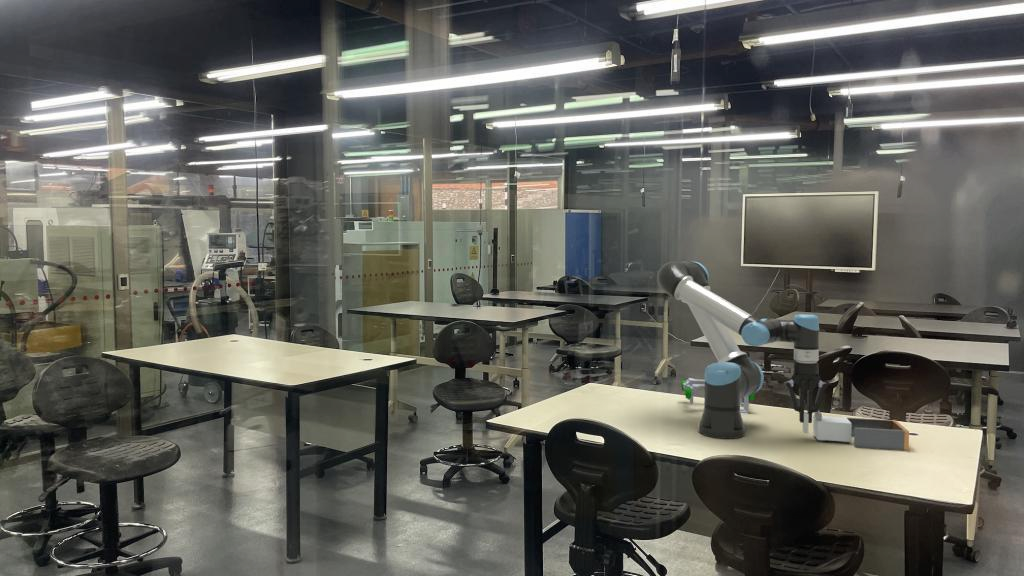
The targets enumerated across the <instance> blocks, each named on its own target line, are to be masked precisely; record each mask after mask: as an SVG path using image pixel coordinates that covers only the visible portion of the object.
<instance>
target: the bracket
mask: <svg viewBox="0 0 1024 576" xmlns="http://www.w3.org/2000/svg"><path fill="white" fill-rule="evenodd" d="M697 383H699V384H697ZM701 383H703V384H701ZM700 388H705V380H704V379H696V378H693V377H688V378H687V379H686V380H681V391H682V392H683V391H684V395H685V399H687V400H688V401H689V402H690V404H691V405H694V394H695V392H696V391H698V390H699V389H700ZM754 400H755V393H754V394H752V395H750V396H745V397H742V398H740V405H742V406H743V408H740V413H748V414H749V410H750V408H749V407H750V406H749V405H750V402H749V401H754Z"/></svg>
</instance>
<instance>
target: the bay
mask: <svg viewBox="0 0 1024 576" xmlns="http://www.w3.org/2000/svg"><path fill="white" fill-rule="evenodd" d="M846 418H847V419H848V420H849V421H850V422H851V423H852V427H851V437H853V447H854V448H861V447H862V449H863V447H864V449H876V448H880V449H879V450H894V451H907V452H908V451H909V450H910V449H909V447H910V446H909V445H910V431H909V430H908V429H907V428H905V426H903V425H902V424H901V423H900V422H898V421H897V420H896V419H883V418H882V419H880V418H879V419H878V418H865V417H864V418H863V417H862V418H861V417H846ZM866 447H867V448H866Z"/></svg>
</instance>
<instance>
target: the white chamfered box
mask: <svg viewBox="0 0 1024 576" xmlns="http://www.w3.org/2000/svg"><path fill="white" fill-rule="evenodd" d="M813 414H814V415H812V422H813V425H812V434H813V436H814V438H816V439H817V442H820V443H826V441H833V442H840V443H841V444H844V445H845V444H846V445H847V444H850V442H852V436H851V427H852V423H851V422H850V421H849V420H848V419H847V418H848V417H844V416H843V417H842V416H828V415H827V416H826V415H823V413H822V412H821V411H820V410H818V412H814V413H813Z"/></svg>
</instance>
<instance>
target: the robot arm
mask: <svg viewBox="0 0 1024 576" xmlns="http://www.w3.org/2000/svg"><path fill="white" fill-rule="evenodd" d="M656 277H657V285H658V286H659V288H660V289H661V290H662V292H664V293H665V294H667V295H669V297H672V298H674V299H675V300H677V301H680V302H682V303H684V304H687V306H688V307H689V309H690V311H691V313H692V315H693V317H694V319H695V320H696V323H697V325H698V326H699V328H700V330H701V332H702V334H703V336H704V338H705V339H706V341H707V343H708V345H709V348H710V349H711V351H712V352H713V354H714V357H715V358H716V359H717V362H713V363H711V364H709V365H707V366H706V368H705V369H704V377H703V378H704V379H703V380H705V387H704V401H703V402H704V404H703V405H704V408H703V409H704V410H703V412H702V415H701V418H700V420H699V424H698V432H699V433H700V434H701V433H702V434H701V435H703V434H704V436H706V437H711V438H715V439H716V438H717V439H740V438H742V437H744V436H745V435H746V426H745V423H744V420H743V418H742V414H741V413H740V409H741V406H740V398H742V399H743V397H745V396H750V395H752V394H754V395H755V394H756V393H758V392H759V390H760V389H761V388H762V387H763V384H764V380H765V378H764V377H765V375H764V372H763V370H762V367H761V366H760V365H759V364H758V363H756V362H754V361H752V360H751V359H750V357H749V355H748V353H747V352H744V351H742V350H741V349H740V348H739V346H738V345H737V343H736V340H735V339H734V337H733V335H732V333H731V331H733V332H734V333H736V334H738V335H740V336H741V338H742V340H743V342H744V343H745V344H747V345H748V346H751V347H759V346H760V347H761V346H764V345H767V344H773V343H776V342H780V343H793V360H794V362H793V375H792V377H791V379H790V380H786V381H785V382H784V383H785V385H786V387H787V388H788V393H789V396H790V399H791V403H792V407H793V410H794V411H795V412H798V414H799V422H800V423H802V432H803V434H806V435H807V434H809V424H812V422H813V414H814V412H818V410H819V409H820V406H821V403H822V399H823V395H824V392H825V390H826V389H827V387H828V384H827V382H825V381H822V380H821V378H820V375H819V359H820V358H819V352H820V351H819V349H820V347H819V346H820V344H819V343H820V341H819V340H820V325H819V324H820V323H819V317H818V316H817V315H816V314H808V313H806V314H803V313H800V314H795V315H794V316H793V319H781V318H780V319H779V318H772V317H770V318H761V319H759V318H757V317H755V316H753V315H752V314H750V313H749V312H746V311H745V310H743V309H741V308H740V307H739V306H736V305H735V304H733V303H732V302H730V301H728V300H727V299H725V298H723V297H722V296H719V295H718V294H716V293H714V292H712V291H711V286H710V284H709V279H710V275H709V272H708V270H707V268H706V267H705V266H704V265H703V264H702V263H700V262H698V261H693V260H684V261H669V262H666V263H665V264H663V265H662V266H661V267H660V268H659V270H658V273H657V276H656ZM729 329H730V330H729ZM794 384H795V385H796V387H797V389H798V393H799V394H798V396H799V397H798V399H799V400H798V402H797V398H796V395H795V390H794V388H793V387H794ZM817 386H818V390H817V394H816V395H815V396H816V397H815V401H813V397H814V396H813V394H814V393H813V392H814V389H815V388H816V387H817ZM805 391H807V398H806V401H807V406H806V407H807V408H806V410H807V411H805ZM813 402H814V403H813ZM798 403H799V404H798ZM798 405H799V406H798ZM819 411H820V410H819Z"/></svg>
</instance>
